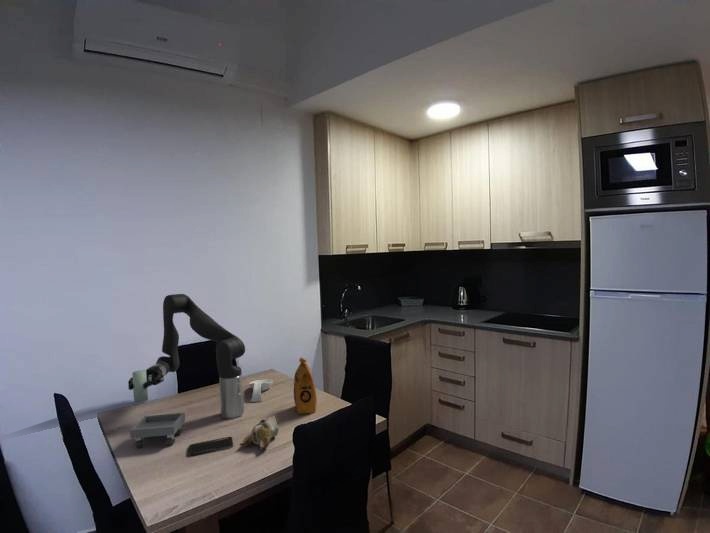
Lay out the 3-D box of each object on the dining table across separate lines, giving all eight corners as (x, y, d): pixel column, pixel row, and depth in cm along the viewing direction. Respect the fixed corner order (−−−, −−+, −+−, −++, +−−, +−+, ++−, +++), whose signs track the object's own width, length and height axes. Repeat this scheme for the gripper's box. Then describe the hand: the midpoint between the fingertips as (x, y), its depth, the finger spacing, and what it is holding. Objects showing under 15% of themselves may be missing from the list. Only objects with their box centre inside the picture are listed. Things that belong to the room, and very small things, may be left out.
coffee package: (294, 416, 159) (292, 365, 158) (293, 404, 171) (292, 357, 171) (317, 413, 161) (316, 363, 160) (315, 402, 173) (313, 355, 172)
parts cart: (185, 431, 148) (184, 412, 148) (174, 446, 136) (173, 426, 136) (145, 434, 146) (144, 416, 146) (131, 450, 134) (130, 430, 134)
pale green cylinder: (149, 397, 158) (148, 369, 158) (144, 402, 153) (143, 373, 153) (137, 398, 157) (135, 370, 157) (131, 403, 152) (130, 374, 152)
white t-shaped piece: (251, 386, 199) (250, 373, 198) (273, 384, 200) (273, 371, 200) (244, 403, 175) (244, 388, 175) (270, 401, 177) (269, 386, 177)
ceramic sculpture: (285, 413, 142) (260, 433, 128) (286, 434, 142) (263, 457, 129) (262, 409, 146) (236, 429, 132) (263, 430, 146) (238, 452, 133)
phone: (189, 444, 136) (231, 436, 141) (189, 447, 136) (232, 439, 141) (187, 455, 129) (233, 445, 134) (187, 458, 129) (233, 448, 134)
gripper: (137, 367, 168) (118, 379, 151) (170, 364, 170) (155, 376, 153) (138, 383, 168) (119, 397, 151) (171, 381, 170) (156, 394, 153)
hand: (137, 386), depth 152 cm, fingers closed on pale green cylinder, 5 cm apart
